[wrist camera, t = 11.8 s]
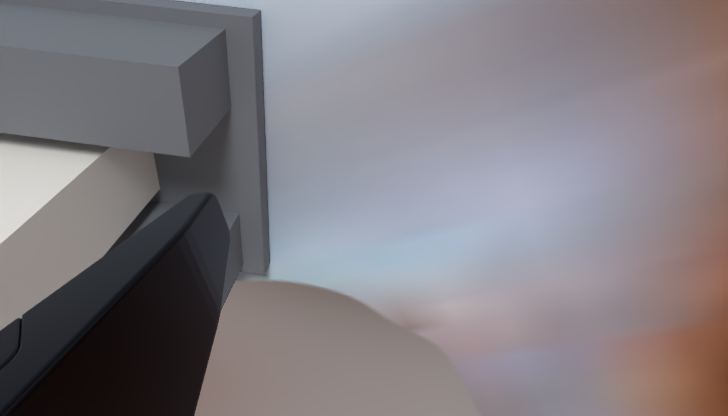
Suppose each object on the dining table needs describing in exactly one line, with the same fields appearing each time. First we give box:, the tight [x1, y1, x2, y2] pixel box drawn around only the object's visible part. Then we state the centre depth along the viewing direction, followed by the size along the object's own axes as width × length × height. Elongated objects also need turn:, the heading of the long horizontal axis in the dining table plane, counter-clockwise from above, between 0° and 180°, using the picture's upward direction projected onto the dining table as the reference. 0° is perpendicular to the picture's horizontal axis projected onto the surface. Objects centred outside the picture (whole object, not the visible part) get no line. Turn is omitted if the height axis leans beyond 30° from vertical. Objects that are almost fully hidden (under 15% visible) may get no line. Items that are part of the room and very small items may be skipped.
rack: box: [0, 0, 270, 309], centre depth 21 cm, size 14×12×5 cm
